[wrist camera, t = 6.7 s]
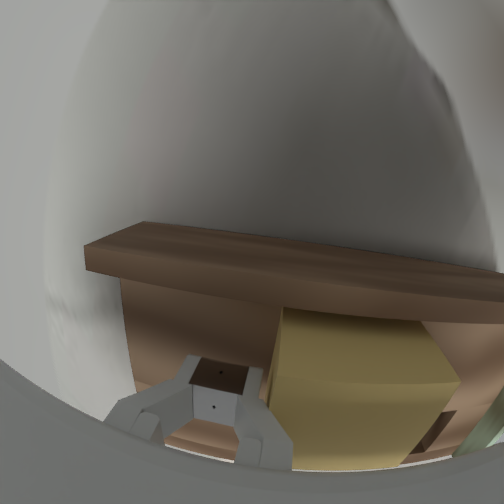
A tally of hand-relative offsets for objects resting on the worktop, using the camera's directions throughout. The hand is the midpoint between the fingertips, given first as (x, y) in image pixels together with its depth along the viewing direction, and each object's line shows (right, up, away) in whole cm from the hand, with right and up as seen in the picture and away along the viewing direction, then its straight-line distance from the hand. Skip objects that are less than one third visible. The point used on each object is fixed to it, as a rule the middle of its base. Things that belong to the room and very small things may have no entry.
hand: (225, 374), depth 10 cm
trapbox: (+7, -3, +5) cm, 9 cm away
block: (+5, 0, +2) cm, 5 cm away
